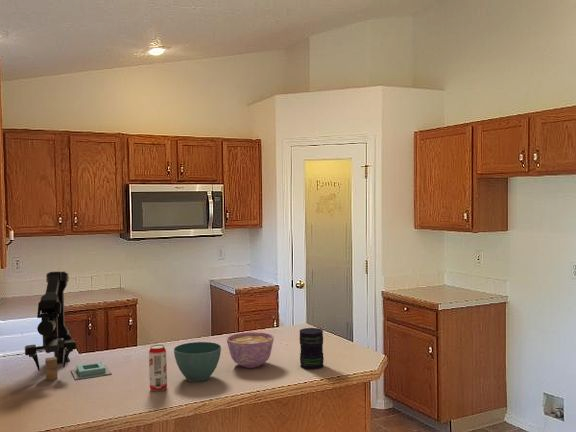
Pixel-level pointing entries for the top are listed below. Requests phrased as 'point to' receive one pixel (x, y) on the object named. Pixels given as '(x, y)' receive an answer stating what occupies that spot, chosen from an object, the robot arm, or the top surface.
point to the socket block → (90, 370)
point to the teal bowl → (197, 359)
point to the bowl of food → (250, 348)
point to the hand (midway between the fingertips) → (51, 368)
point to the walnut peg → (51, 368)
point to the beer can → (157, 368)
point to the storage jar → (311, 348)
